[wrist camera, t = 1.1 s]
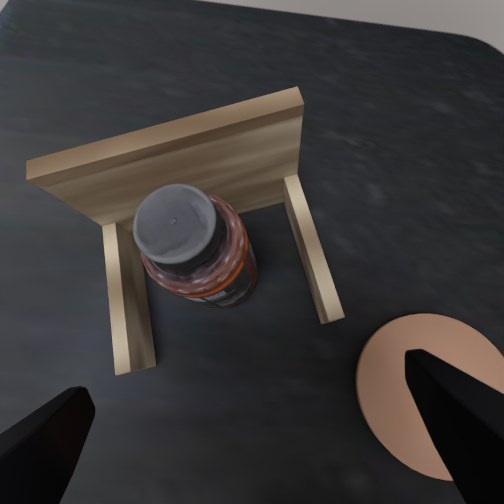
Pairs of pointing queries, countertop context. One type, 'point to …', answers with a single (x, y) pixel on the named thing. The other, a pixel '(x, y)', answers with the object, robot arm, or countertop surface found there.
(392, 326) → the peach rounded disc
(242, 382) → the countertop surface
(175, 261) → the supplement bottle
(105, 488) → the countertop surface
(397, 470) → the countertop surface
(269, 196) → the wooden bench
